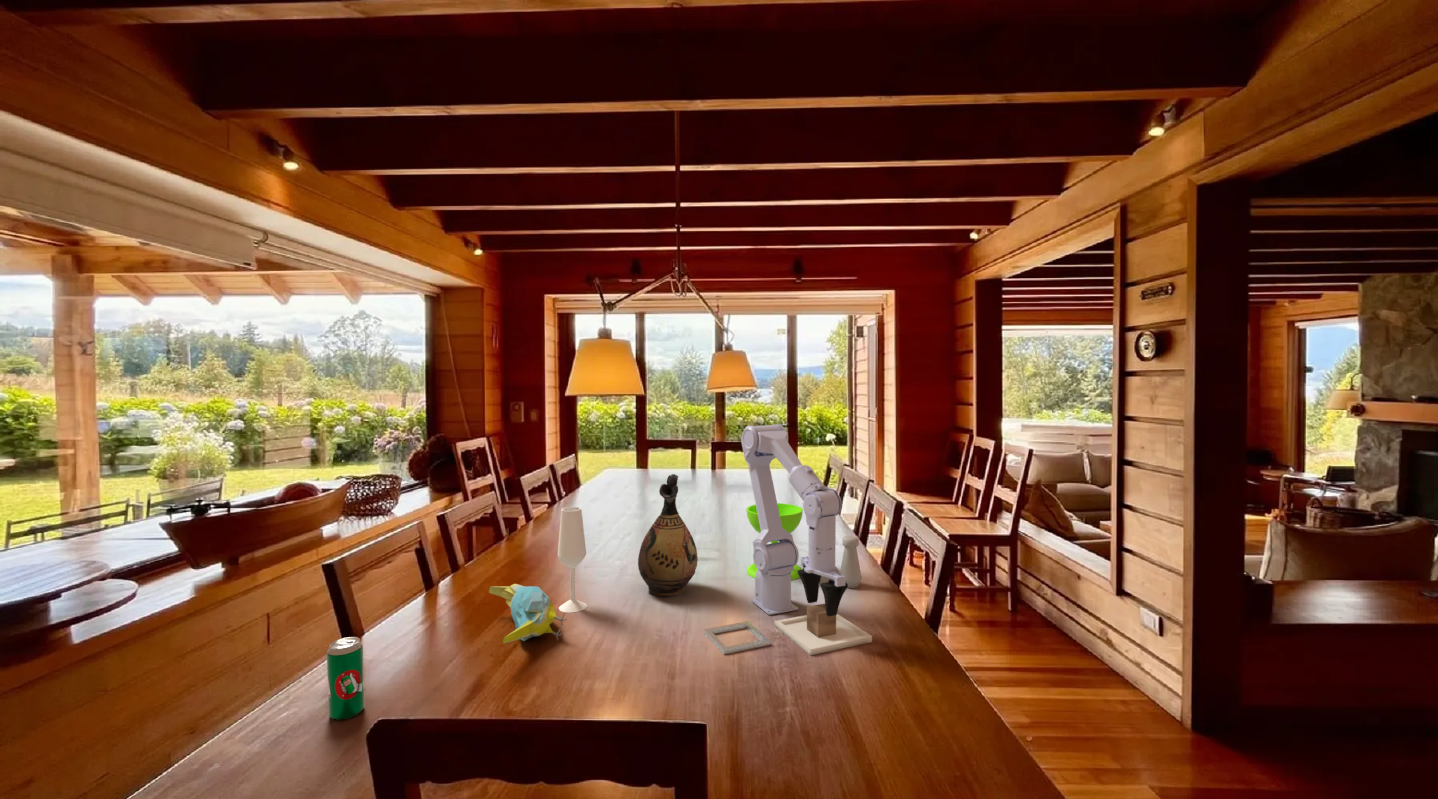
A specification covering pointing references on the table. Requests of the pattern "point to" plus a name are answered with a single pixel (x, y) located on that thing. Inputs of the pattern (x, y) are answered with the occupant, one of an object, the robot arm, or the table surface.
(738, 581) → the table surface
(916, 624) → the table surface
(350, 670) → the soda can
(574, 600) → the champagne flute
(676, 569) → the ceramic jug
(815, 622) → the walnut block
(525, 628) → the decorative bird
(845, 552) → the salt shaker
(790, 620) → the tray
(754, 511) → the wineglass
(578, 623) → the table surface
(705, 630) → the frame
